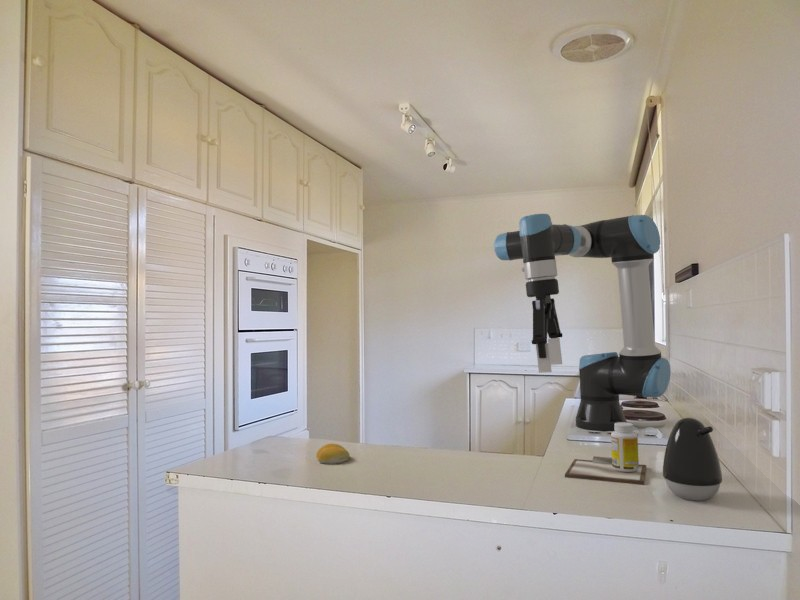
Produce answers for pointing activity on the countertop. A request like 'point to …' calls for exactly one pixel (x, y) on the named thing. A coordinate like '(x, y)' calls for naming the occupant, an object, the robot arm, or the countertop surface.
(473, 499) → the countertop surface
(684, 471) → the pump dispenser
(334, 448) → the bread roll
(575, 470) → the clipboard
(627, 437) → the supplement bottle
